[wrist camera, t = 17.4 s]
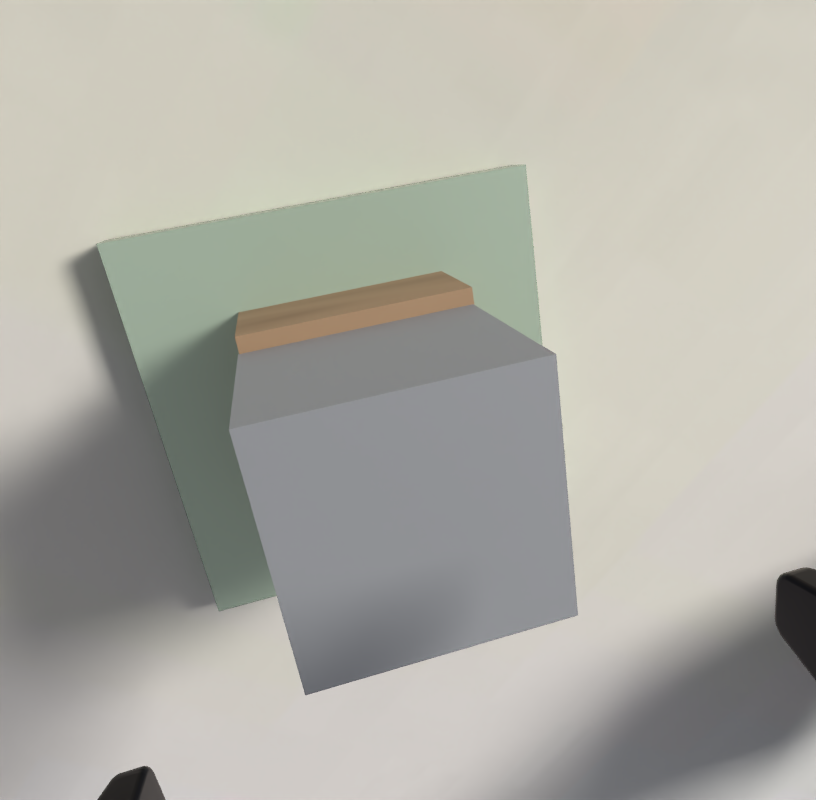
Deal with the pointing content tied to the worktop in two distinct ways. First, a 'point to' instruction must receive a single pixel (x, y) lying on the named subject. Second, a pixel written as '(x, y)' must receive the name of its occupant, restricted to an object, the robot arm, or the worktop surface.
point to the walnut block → (349, 310)
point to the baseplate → (285, 282)
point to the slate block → (406, 489)
